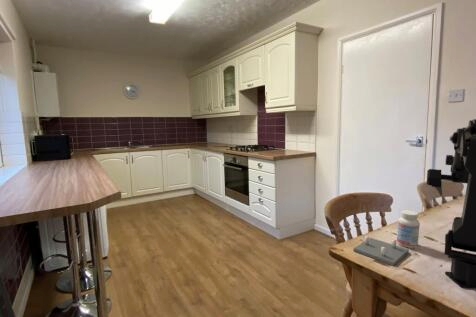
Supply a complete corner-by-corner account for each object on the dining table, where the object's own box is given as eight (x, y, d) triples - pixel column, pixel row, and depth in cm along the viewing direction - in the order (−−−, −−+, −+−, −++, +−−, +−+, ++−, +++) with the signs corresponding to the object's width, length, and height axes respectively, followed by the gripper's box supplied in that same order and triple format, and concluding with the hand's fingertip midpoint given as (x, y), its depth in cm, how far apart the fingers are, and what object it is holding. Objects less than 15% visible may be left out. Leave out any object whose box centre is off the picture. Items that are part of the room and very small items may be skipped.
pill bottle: (392, 242, 94) (394, 210, 92) (405, 239, 96) (407, 208, 94) (409, 249, 88) (411, 216, 86) (422, 246, 90) (424, 214, 89)
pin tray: (408, 252, 86) (409, 242, 86) (393, 265, 79) (394, 254, 78) (370, 240, 95) (370, 230, 95) (353, 251, 88) (353, 240, 87)
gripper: (501, 148, 85) (491, 183, 94) (429, 146, 96) (425, 178, 105) (506, 172, 79) (495, 207, 87) (428, 166, 89) (425, 199, 98)
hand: (457, 196), depth 94 cm, fingers open, 9 cm apart
